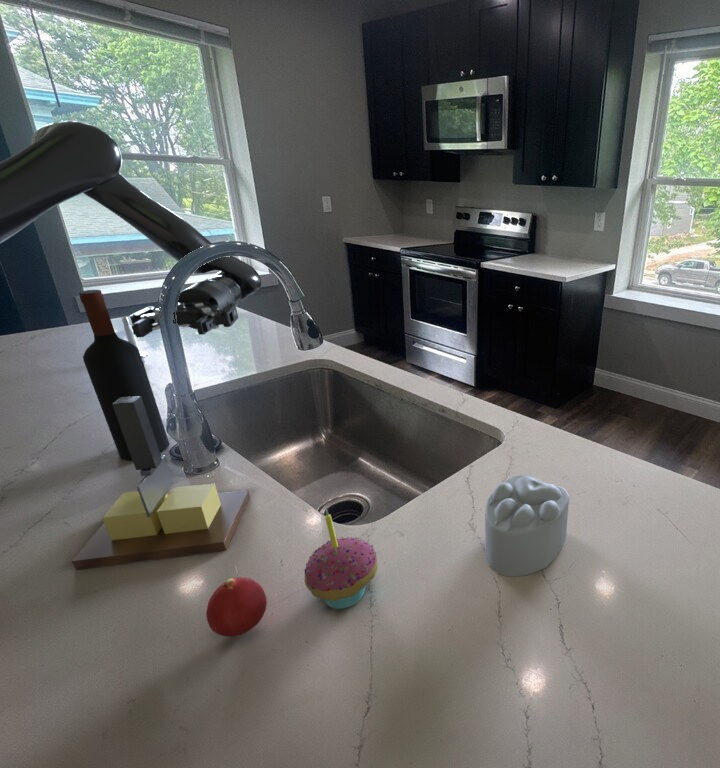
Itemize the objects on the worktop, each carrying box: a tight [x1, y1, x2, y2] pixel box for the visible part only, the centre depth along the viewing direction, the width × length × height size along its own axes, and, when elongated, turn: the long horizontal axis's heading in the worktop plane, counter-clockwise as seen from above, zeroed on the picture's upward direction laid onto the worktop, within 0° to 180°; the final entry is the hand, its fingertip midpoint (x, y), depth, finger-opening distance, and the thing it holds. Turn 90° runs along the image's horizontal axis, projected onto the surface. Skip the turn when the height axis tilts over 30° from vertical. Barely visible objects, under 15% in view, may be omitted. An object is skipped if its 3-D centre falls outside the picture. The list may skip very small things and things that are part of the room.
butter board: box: [71, 489, 251, 571], centre depth 68 cm, size 18×12×2 cm, turn 103°
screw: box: [121, 315, 149, 363], centre depth 124 cm, size 13×5×5 cm
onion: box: [205, 576, 268, 638], centre depth 52 cm, size 6×6×8 cm
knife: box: [112, 396, 175, 517], centre depth 63 cm, size 2×8×16 cm, turn 13°
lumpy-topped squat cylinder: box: [484, 474, 570, 577], centre depth 66 cm, size 10×13×9 cm
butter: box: [101, 483, 221, 540], centre depth 67 cm, size 12×6×4 cm, turn 103°
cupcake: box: [303, 508, 379, 610], centre depth 56 cm, size 9×8×12 cm
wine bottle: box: [78, 289, 170, 462], centre depth 82 cm, size 8×8×30 cm
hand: (168, 329), depth 72 cm, fingers open, 8 cm apart
